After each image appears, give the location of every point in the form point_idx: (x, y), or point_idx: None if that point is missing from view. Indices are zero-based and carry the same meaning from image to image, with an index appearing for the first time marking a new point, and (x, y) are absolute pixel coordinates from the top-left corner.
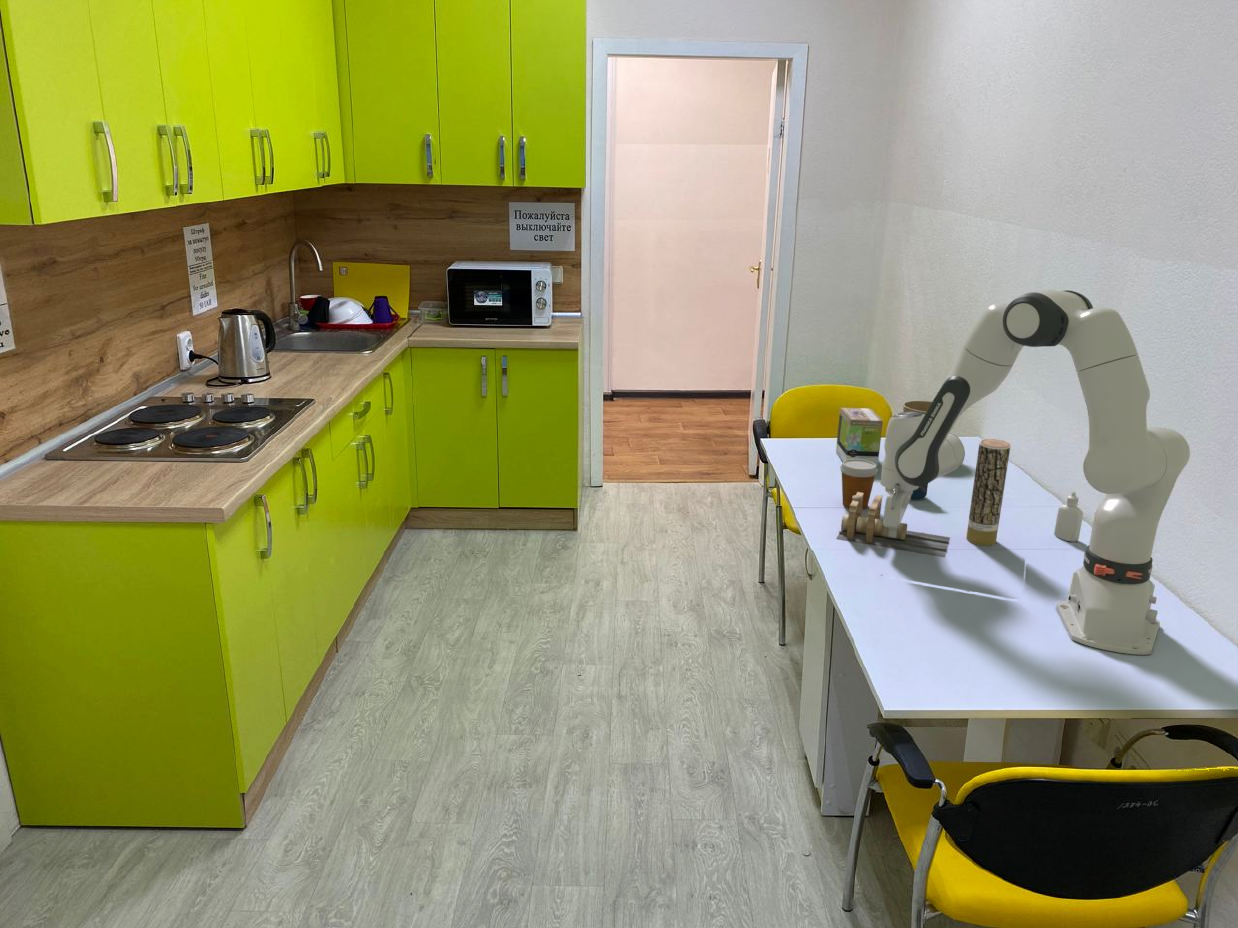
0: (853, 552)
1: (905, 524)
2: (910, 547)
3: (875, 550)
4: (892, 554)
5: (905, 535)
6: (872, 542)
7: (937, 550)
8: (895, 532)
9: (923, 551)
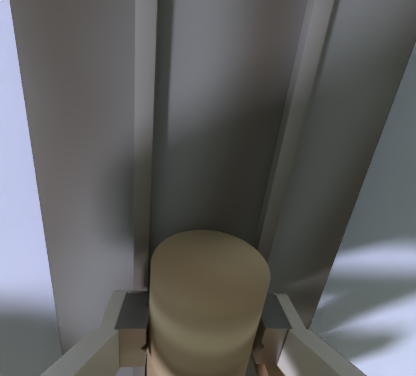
0: (355, 364)
1: (226, 317)
2: (308, 197)
3: (328, 314)
4: (363, 258)
5: (205, 244)
6: None
7: (329, 28)
8: (298, 323)
9: (355, 126)
